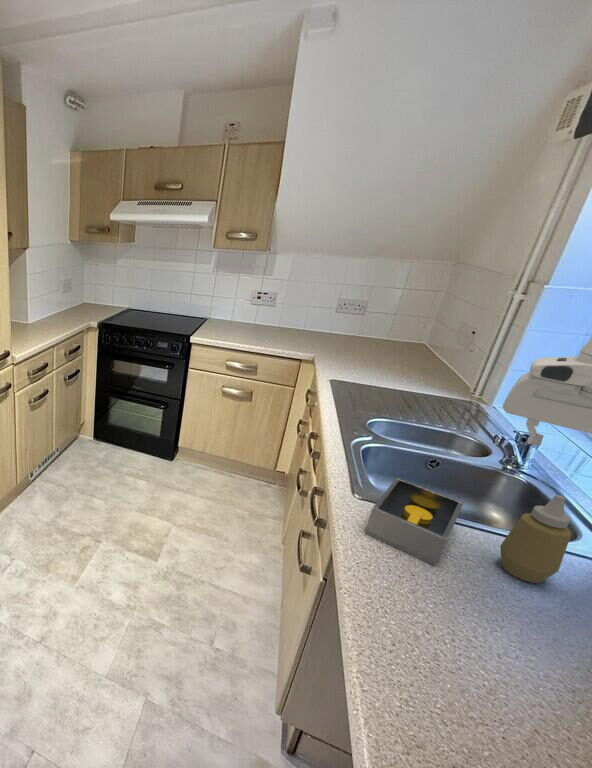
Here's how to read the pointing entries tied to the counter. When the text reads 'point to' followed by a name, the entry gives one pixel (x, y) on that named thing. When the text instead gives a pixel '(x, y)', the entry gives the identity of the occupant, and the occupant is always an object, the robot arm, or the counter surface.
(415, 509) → the yellow letter t
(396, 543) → the grey open box
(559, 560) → the squeeze bottle
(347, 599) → the counter surface
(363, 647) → the counter surface
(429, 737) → the counter surface
